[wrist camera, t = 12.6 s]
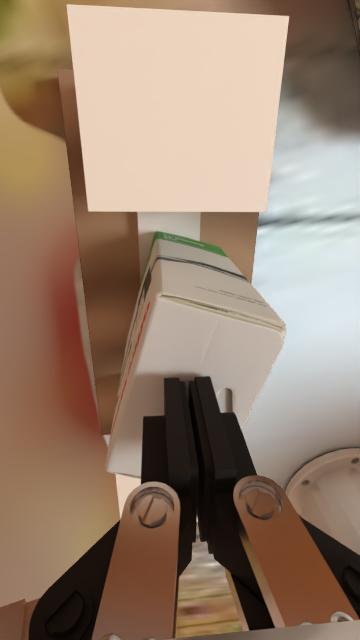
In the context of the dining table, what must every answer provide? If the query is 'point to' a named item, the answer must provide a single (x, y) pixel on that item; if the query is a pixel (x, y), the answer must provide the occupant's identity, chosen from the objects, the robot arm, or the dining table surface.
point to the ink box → (190, 340)
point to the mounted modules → (176, 111)
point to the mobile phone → (356, 18)
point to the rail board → (131, 257)
